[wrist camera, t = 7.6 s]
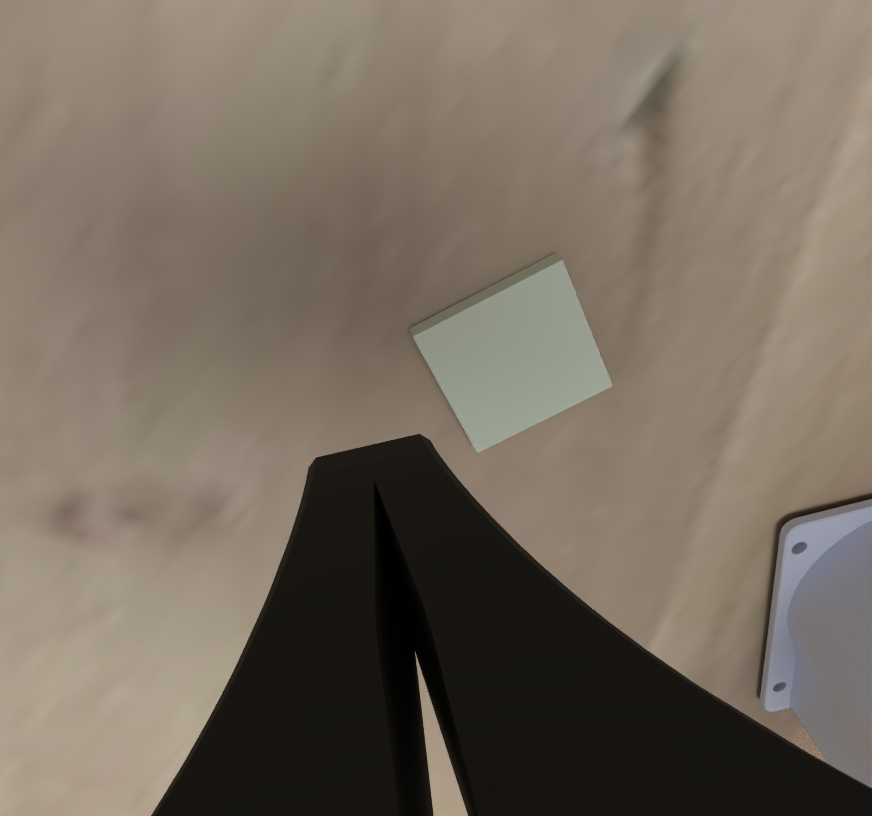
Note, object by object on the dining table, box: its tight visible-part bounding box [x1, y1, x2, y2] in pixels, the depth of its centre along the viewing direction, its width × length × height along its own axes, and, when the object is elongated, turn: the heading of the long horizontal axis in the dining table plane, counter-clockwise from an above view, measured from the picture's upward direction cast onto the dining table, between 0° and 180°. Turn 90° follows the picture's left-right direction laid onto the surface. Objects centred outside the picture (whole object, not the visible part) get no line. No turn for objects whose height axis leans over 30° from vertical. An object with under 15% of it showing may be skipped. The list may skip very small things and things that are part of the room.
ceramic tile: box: [409, 253, 613, 453], centre depth 20 cm, size 4×4×1 cm
